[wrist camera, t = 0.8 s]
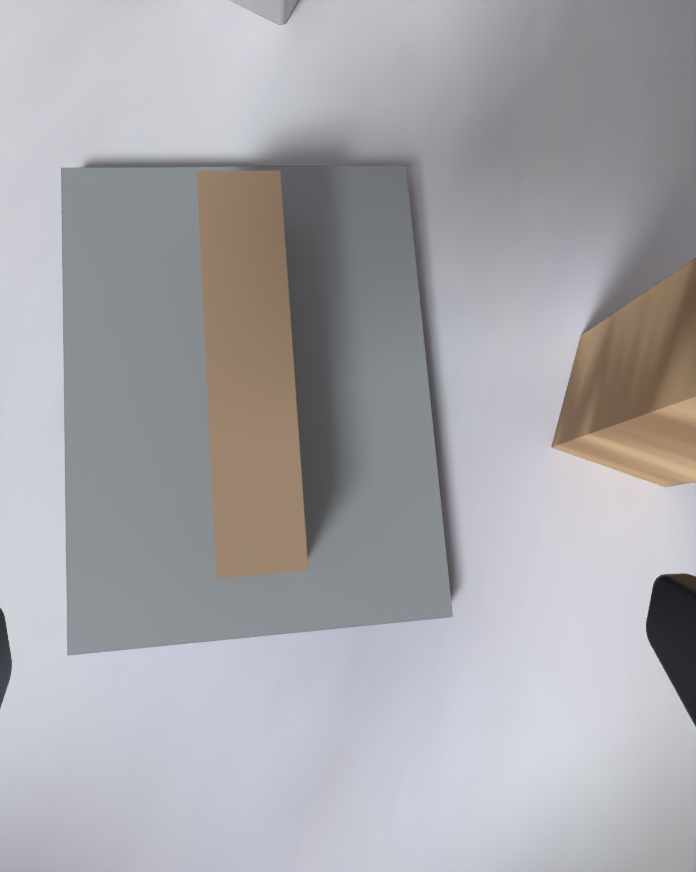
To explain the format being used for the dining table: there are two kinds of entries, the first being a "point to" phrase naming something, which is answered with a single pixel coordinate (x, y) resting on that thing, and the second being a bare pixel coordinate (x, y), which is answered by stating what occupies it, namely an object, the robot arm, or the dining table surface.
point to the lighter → (270, 8)
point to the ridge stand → (244, 406)
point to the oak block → (638, 387)
